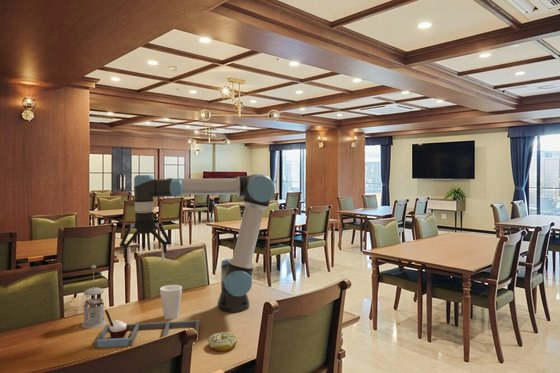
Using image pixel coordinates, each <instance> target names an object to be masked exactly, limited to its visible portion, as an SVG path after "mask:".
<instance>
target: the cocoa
mask: <svg viewBox="0 0 560 373" xmlns="http://www.w3.org/2000/svg"><path fill="white" fill-rule="evenodd" d="M104 313H105V314H106V317H107V320H108V322H109V324H108V325H109V331H108V332H109V335H110V339H115V338H125V336H126V334H127V333H128V331H130V330H129V326H127V324H128V323H126V322H123V321H121V320H117V319H115V320H112V319H111V315H110V313H109V310H107V309H104ZM127 327H128V329H127Z"/></svg>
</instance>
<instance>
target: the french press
mask: <svg viewBox="0 0 560 373" xmlns="http://www.w3.org/2000/svg"><path fill="white" fill-rule="evenodd" d="M90 268H91V269H93V271H92V272H93V274H92V276H93V287H91V288H88V289H85V290H84V291H83V297H82V299H84V297H85V296H86V298H85V301H84V303H82V306H83V322H82V324H81V327H82V328H83V329H94V328H95V329H96V328H101V327H102V326H104V325H105V326H106V325H107V320H105V304H104V303H105V302H103V301H104V299H102V298H95V297H94V298H90V297H91V296H98V295H101V294H103V293H104V292H105V289H103V288H101V287H95V269H96V268H97V266H96V265H95V264H92V265H91V267H90ZM88 298H89V299H88Z"/></svg>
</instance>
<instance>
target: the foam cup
mask: <svg viewBox="0 0 560 373" xmlns="http://www.w3.org/2000/svg"><path fill="white" fill-rule="evenodd" d="M159 290H160V291H159V292H160V300H161V304H162V305H161V306H162V307H161V308H162V313H163V318H164V319H165V320H174V319H178V318H179V316H180V307H181V301H182V294H183V286H182V285H180V284H179V285H178V284H168V285H167V284H166V285H164V286H161V287H160V289H159Z"/></svg>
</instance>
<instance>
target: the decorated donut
mask: <svg viewBox="0 0 560 373" xmlns="http://www.w3.org/2000/svg"><path fill="white" fill-rule="evenodd" d="M237 342H238V337H237V335H236V334H234V333H233V332H232V333H231V332H229V331H227V332H226V331H225V332H224V331H222V332H216V333H214V334H212V335H210V336H209V337H208V344H209V347H210V348H211V349H213V350H214V351H217V352H226V351H231V350H232V349H234V348H235V346H236V345H237Z"/></svg>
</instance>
